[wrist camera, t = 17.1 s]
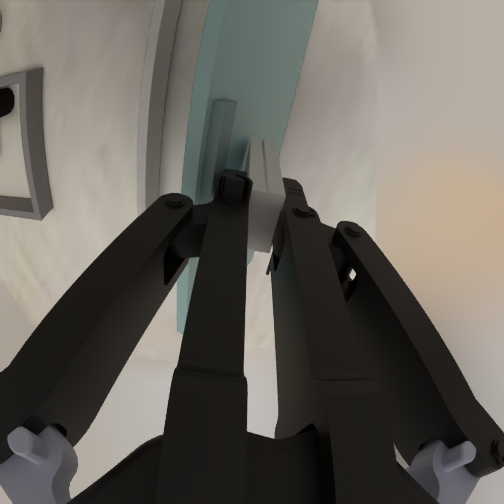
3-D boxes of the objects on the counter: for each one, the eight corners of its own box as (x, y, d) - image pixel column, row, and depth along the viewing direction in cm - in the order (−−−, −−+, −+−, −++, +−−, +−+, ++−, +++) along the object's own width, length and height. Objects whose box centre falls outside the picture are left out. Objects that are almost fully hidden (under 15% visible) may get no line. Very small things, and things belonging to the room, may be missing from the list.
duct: (175, -8, 16) (159, -19, 12) (305, 10, 18) (318, 0, 14) (151, 212, 31) (138, 239, 27) (252, 227, 33) (253, 255, 29)
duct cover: (227, -64, 5) (259, -66, 5) (307, -2, 14) (326, 2, 13) (176, 330, 20) (192, 340, 20) (244, 256, 28) (257, 262, 28)
